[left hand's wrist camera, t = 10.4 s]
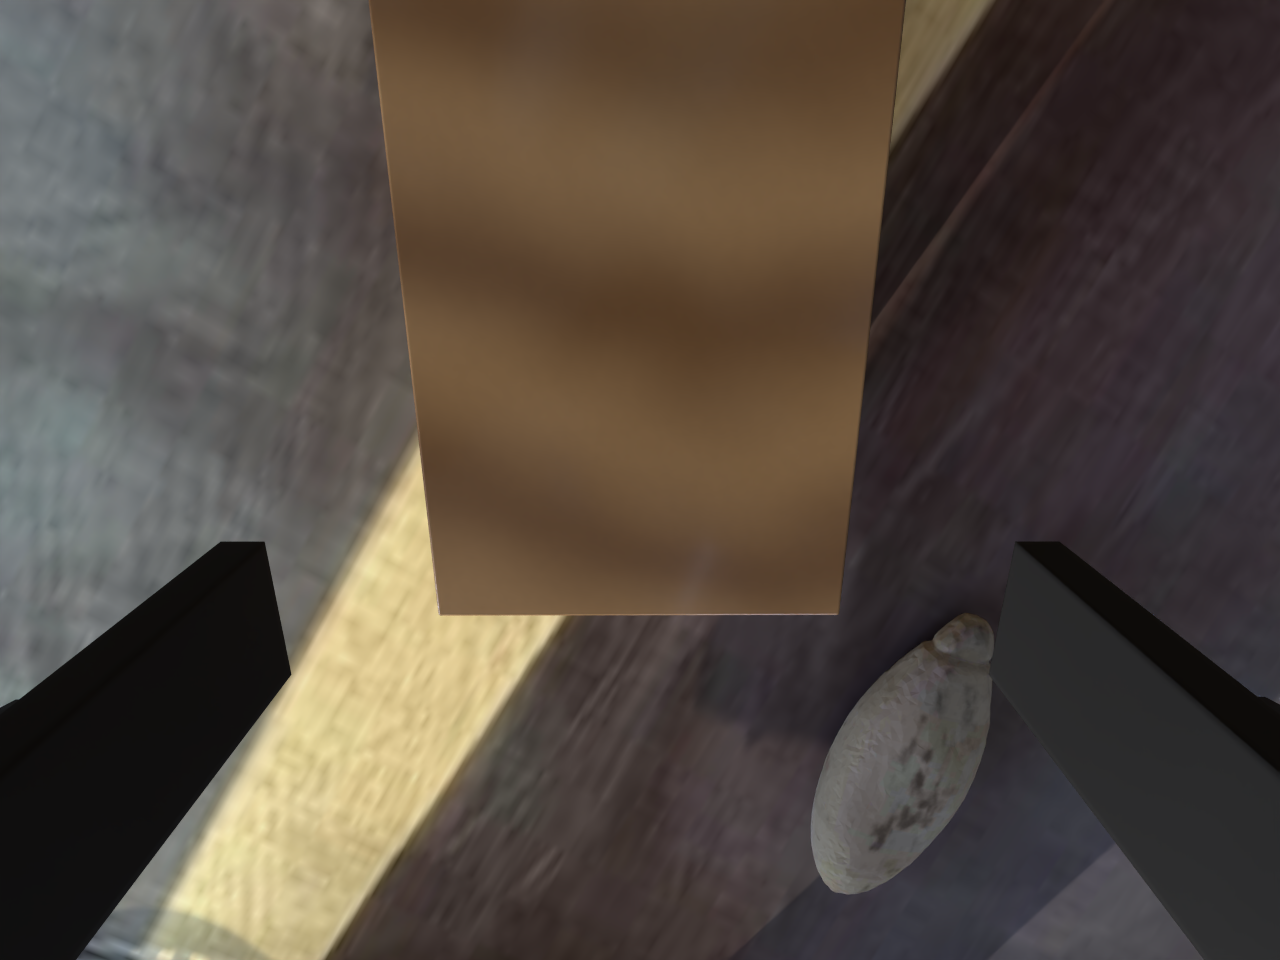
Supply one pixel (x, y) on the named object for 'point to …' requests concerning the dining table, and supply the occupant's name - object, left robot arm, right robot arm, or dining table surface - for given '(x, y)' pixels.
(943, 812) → the decorative stone
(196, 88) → the dining table surface
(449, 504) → the cabinet
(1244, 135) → the dining table surface
